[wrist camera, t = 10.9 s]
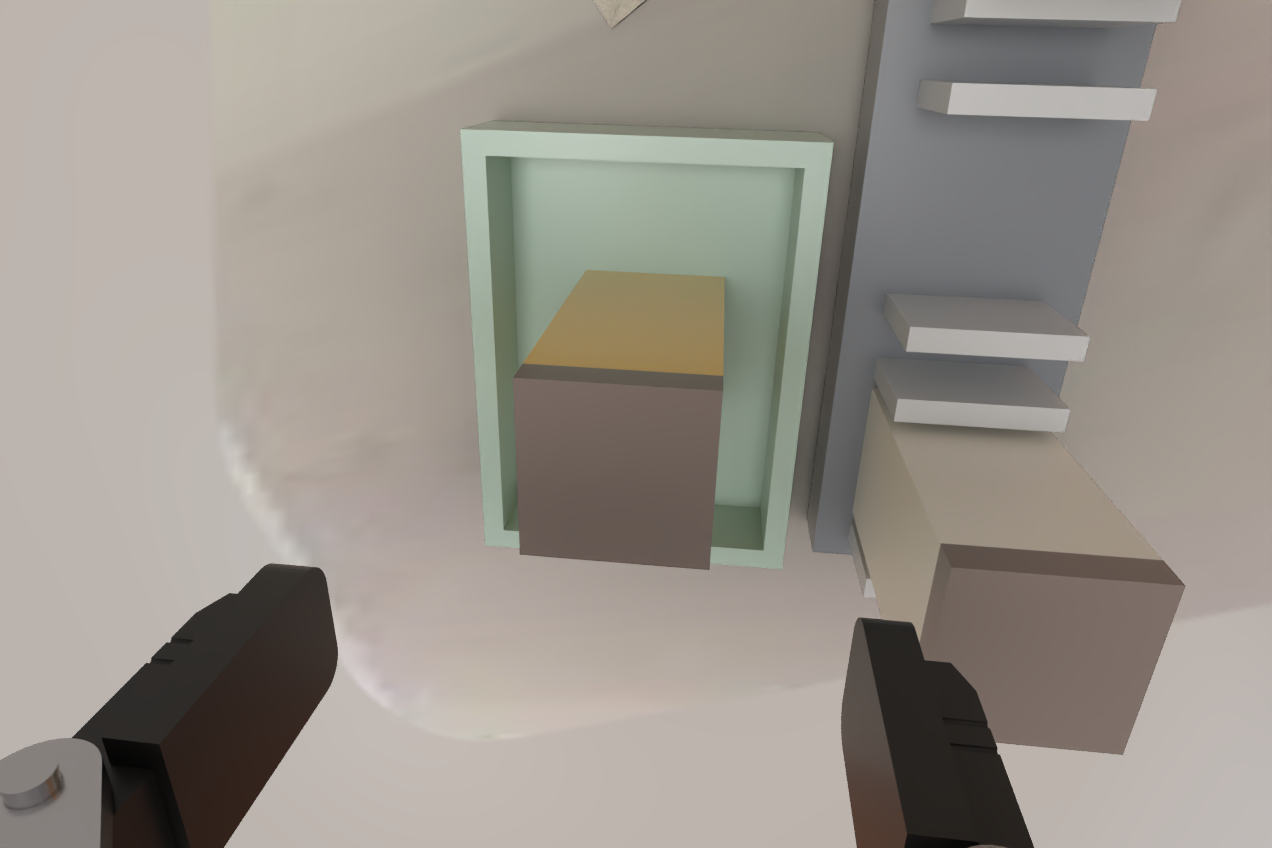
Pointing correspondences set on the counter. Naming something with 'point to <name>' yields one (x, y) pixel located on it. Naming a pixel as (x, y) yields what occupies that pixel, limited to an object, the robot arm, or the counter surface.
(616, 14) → the condiment
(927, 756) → the robot arm
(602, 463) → the block
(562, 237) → the tray
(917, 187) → the rail
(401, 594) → the counter surface
